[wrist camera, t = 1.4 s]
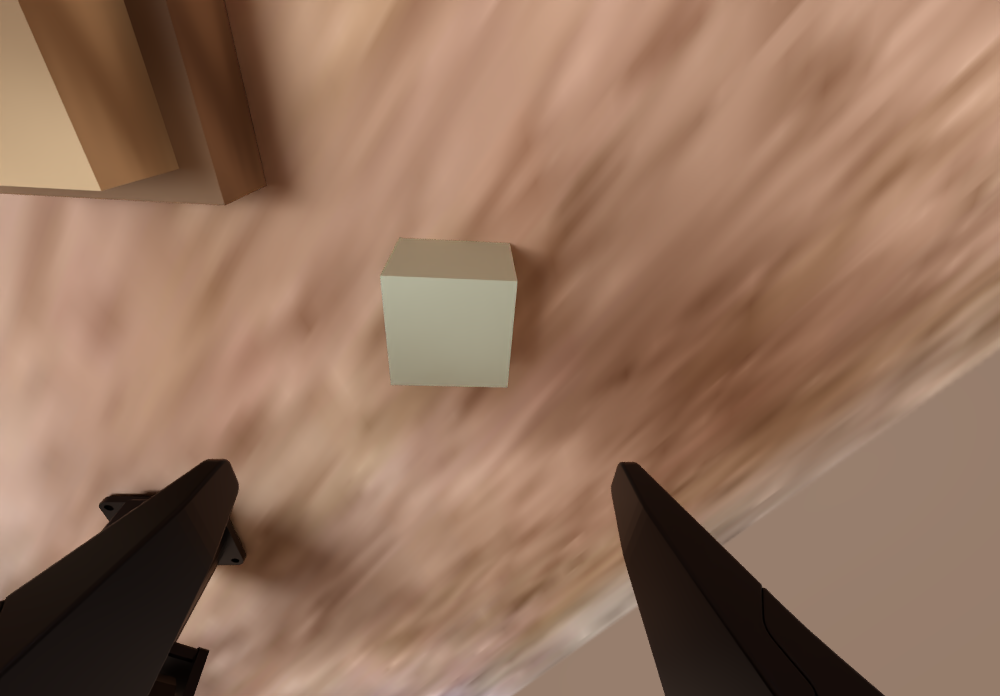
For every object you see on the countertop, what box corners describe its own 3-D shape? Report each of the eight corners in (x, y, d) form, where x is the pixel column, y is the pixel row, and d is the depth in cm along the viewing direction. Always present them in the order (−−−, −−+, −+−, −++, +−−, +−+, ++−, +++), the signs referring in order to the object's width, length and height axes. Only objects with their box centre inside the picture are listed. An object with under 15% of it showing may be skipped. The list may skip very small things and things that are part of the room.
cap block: (502, 334, 19) (507, 387, 16) (406, 331, 19) (391, 385, 16) (509, 242, 17) (517, 281, 14) (399, 236, 17) (380, 275, 13)
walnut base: (266, 185, 15) (224, 205, 13) (34, 172, 15) (-58, 190, 12) (194, -131, 11) (109, -193, 8) (-139, -167, 10) (-337, -248, 8)
